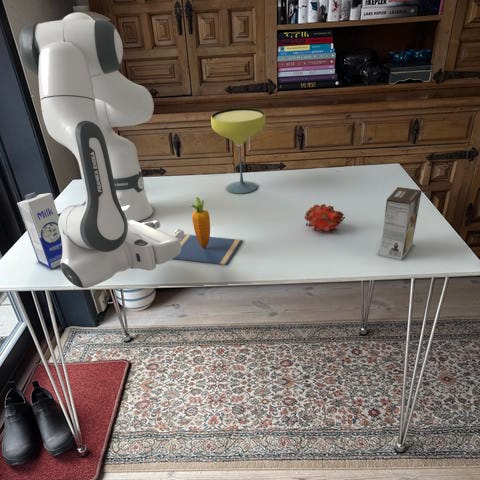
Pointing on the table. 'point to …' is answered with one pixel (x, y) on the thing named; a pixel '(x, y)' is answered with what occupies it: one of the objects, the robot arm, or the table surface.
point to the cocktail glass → (239, 135)
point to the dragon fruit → (323, 218)
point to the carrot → (201, 223)
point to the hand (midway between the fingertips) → (170, 227)
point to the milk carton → (42, 228)
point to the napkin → (208, 250)
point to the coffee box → (400, 222)
